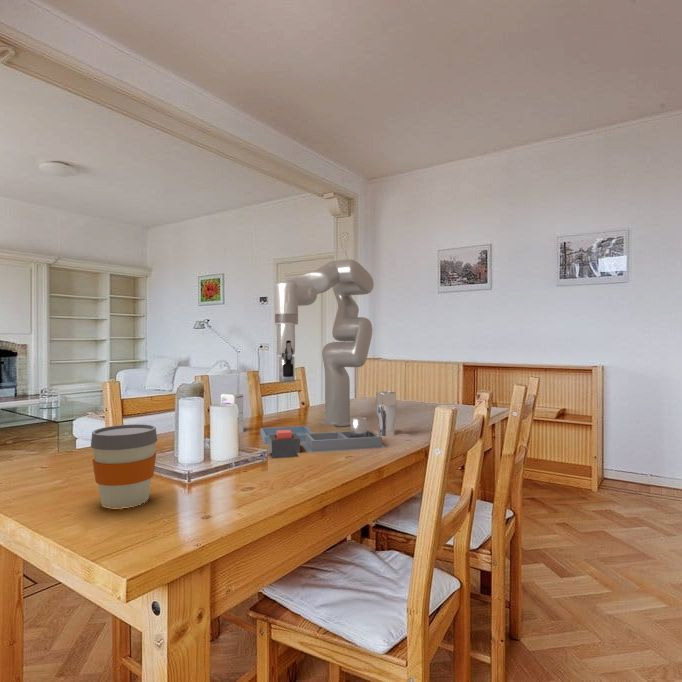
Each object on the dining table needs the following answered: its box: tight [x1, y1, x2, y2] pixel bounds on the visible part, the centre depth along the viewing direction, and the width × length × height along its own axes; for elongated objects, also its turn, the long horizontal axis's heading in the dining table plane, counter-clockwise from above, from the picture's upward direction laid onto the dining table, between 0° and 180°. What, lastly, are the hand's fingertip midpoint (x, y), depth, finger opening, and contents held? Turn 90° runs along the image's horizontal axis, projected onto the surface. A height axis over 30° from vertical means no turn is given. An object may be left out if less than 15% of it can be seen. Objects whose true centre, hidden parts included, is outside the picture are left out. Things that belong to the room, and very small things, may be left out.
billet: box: [278, 355, 296, 383], centre depth 158 cm, size 5×5×8 cm
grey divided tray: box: [300, 429, 388, 454], centre depth 147 cm, size 13×24×4 cm, turn 104°
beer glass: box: [375, 390, 397, 437], centre depth 163 cm, size 7×7×15 cm
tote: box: [259, 425, 313, 445], centre depth 159 cm, size 16×16×3 cm
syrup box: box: [220, 392, 244, 435], centre depth 166 cm, size 6×6×14 cm
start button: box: [276, 430, 292, 439], centre depth 140 cm, size 4×4×3 cm
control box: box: [268, 433, 301, 459], centre depth 140 cm, size 8×8×5 cm
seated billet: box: [349, 416, 368, 438], centre depth 148 cm, size 5×5×8 cm
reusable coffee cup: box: [90, 423, 158, 508], centre depth 100 cm, size 13×13×15 cm
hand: (287, 375), depth 158 cm, fingers closed on billet, 5 cm apart
